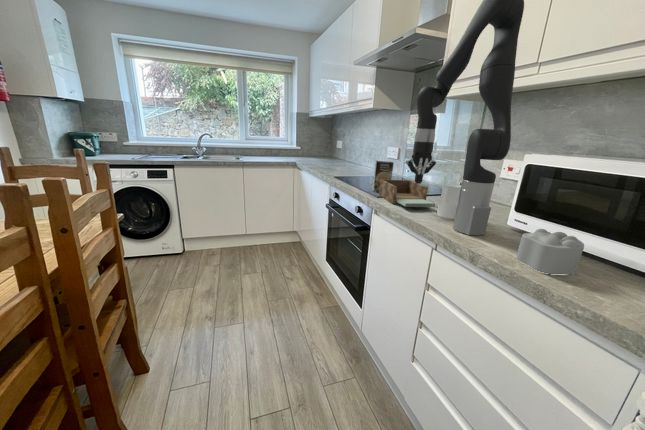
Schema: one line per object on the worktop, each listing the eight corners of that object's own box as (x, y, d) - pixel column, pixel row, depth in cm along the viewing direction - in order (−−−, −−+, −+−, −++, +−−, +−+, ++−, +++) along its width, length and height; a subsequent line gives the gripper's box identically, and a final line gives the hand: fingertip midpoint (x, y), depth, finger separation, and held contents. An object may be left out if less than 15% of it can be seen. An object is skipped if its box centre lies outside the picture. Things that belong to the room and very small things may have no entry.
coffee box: (372, 191, 149) (375, 161, 144) (372, 189, 155) (374, 160, 150) (390, 192, 148) (393, 162, 143) (388, 190, 154) (392, 161, 149)
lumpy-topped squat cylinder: (509, 257, 75) (517, 227, 72) (549, 255, 77) (558, 226, 75) (545, 276, 65) (556, 243, 63) (589, 274, 68) (601, 241, 65)
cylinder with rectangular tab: (450, 212, 116) (455, 184, 113) (466, 218, 108) (472, 188, 105) (432, 212, 114) (437, 184, 110) (447, 219, 106) (452, 189, 102)
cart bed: (425, 204, 127) (427, 187, 124) (392, 204, 124) (394, 186, 122) (407, 195, 144) (409, 180, 141) (378, 195, 141) (380, 179, 139)
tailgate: (423, 202, 125) (434, 207, 117) (396, 202, 123) (405, 206, 115) (424, 199, 125) (434, 203, 116) (397, 199, 123) (406, 203, 114)
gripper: (433, 141, 116) (427, 182, 121) (404, 139, 114) (399, 181, 119) (444, 142, 109) (437, 185, 114) (413, 140, 107) (407, 184, 111)
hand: (418, 183), depth 116 cm, fingers closed
